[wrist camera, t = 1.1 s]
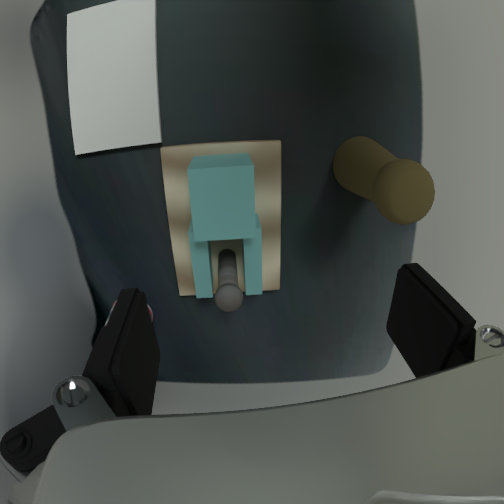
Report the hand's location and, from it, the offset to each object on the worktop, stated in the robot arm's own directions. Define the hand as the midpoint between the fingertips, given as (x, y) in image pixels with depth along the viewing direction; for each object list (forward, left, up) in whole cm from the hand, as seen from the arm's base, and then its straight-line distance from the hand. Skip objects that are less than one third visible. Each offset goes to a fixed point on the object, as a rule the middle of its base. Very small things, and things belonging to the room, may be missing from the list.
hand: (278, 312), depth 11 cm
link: (+5, -2, -21) cm, 21 cm away
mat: (-11, -12, -22) cm, 27 cm away
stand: (+5, -2, -22) cm, 22 cm away
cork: (0, +12, -22) cm, 25 cm away
